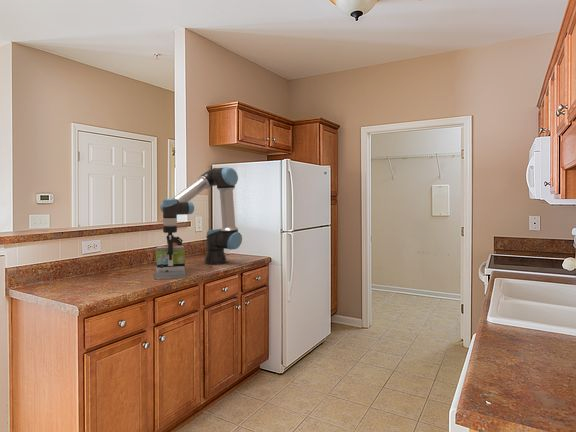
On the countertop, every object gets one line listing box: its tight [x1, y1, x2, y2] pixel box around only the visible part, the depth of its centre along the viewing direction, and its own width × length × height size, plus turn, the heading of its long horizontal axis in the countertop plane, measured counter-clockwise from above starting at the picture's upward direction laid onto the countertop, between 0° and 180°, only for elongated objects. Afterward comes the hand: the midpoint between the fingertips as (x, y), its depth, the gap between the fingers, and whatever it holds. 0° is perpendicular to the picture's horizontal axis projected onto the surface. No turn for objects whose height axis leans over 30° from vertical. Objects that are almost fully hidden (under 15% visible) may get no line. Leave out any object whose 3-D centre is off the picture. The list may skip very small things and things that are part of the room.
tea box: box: [155, 244, 186, 273], centre depth 225 cm, size 15×10×15 cm
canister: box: [166, 236, 184, 246], centre depth 253 cm, size 9×11×20 cm
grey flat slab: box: [154, 270, 187, 280], centre depth 226 cm, size 16×15×4 cm
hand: (170, 264), depth 225 cm, fingers closed on tea box, 10 cm apart
